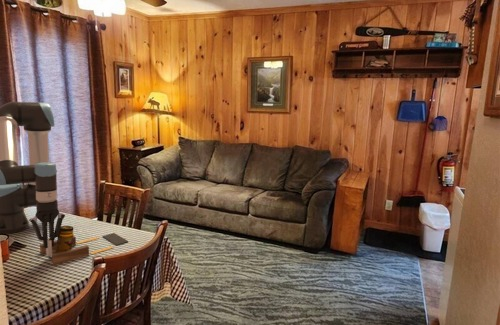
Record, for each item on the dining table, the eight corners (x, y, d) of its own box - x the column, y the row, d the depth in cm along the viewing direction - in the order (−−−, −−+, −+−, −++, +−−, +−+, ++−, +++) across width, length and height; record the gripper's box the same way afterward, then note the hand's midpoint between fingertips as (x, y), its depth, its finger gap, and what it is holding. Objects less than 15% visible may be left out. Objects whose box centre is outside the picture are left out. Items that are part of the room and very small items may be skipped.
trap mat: (102, 237, 165) (102, 236, 164) (114, 234, 169) (114, 232, 169) (116, 245, 156) (116, 244, 155) (128, 242, 160) (128, 241, 160)
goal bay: (75, 242, 157) (75, 242, 157) (97, 237, 164) (97, 236, 164) (91, 254, 146) (91, 254, 146) (113, 248, 153) (113, 247, 153)
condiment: (73, 256, 143) (76, 229, 142) (50, 257, 138) (54, 230, 137) (70, 250, 149) (74, 224, 148) (48, 251, 144) (52, 224, 143)
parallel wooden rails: (40, 252, 145) (39, 244, 144) (74, 243, 156) (73, 235, 155) (53, 265, 135) (53, 256, 134) (89, 254, 145) (88, 246, 145)
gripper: (31, 204, 129) (34, 261, 132) (67, 199, 139) (68, 252, 142) (25, 200, 134) (28, 255, 137) (60, 196, 144) (62, 247, 147)
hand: (49, 254), depth 140 cm, fingers closed
